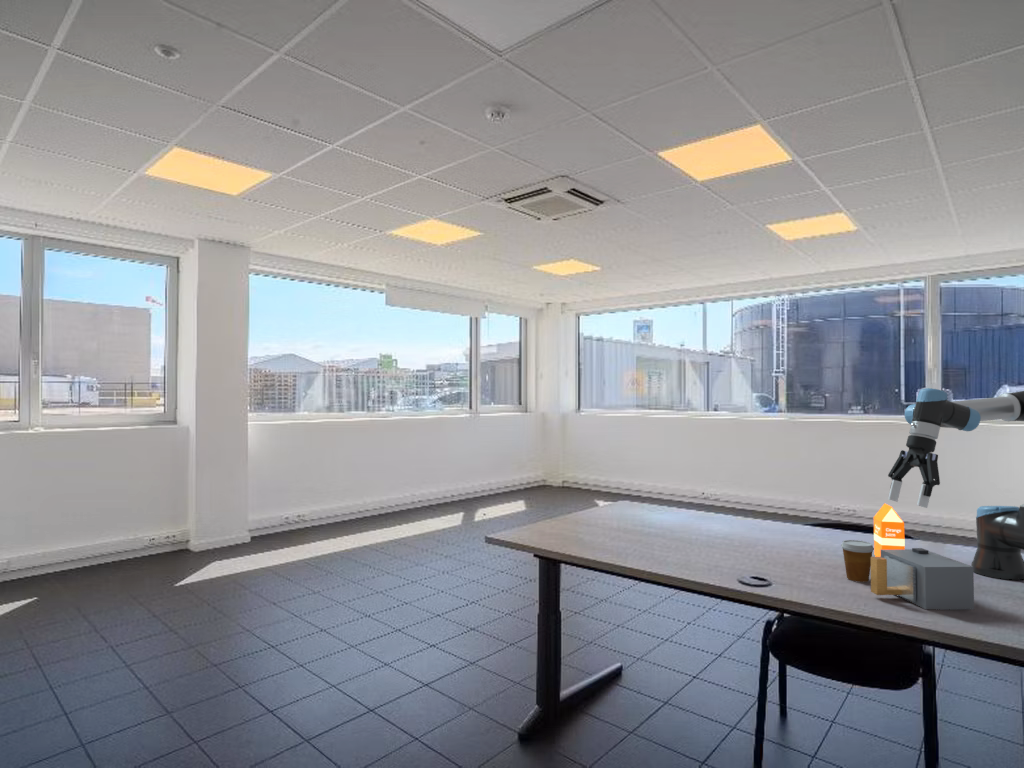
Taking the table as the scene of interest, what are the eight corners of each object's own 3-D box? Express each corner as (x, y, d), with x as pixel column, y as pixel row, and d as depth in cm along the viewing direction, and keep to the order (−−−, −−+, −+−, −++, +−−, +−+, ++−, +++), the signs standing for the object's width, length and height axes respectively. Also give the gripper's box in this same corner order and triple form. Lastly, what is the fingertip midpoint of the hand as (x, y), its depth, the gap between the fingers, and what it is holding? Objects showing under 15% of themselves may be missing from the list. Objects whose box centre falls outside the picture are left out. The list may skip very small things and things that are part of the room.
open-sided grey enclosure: (924, 587, 192) (923, 546, 193) (974, 609, 172) (973, 563, 173) (880, 587, 192) (880, 546, 192) (925, 609, 172) (924, 563, 172)
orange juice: (896, 556, 230) (895, 503, 230) (905, 562, 221) (904, 507, 222) (873, 555, 232) (872, 502, 232) (881, 561, 223) (880, 506, 224)
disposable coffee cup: (837, 579, 201) (836, 542, 201) (846, 573, 208) (846, 538, 208) (869, 585, 194) (869, 547, 194) (878, 579, 201) (877, 543, 201)
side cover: (887, 588, 188) (886, 552, 189) (916, 602, 175) (915, 563, 176) (861, 588, 188) (860, 552, 189) (888, 602, 175) (887, 563, 176)
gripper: (885, 433, 202) (870, 495, 201) (939, 435, 178) (923, 505, 176) (907, 439, 202) (892, 501, 201) (964, 442, 178) (947, 512, 176)
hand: (906, 503), depth 189 cm, fingers open, 13 cm apart
